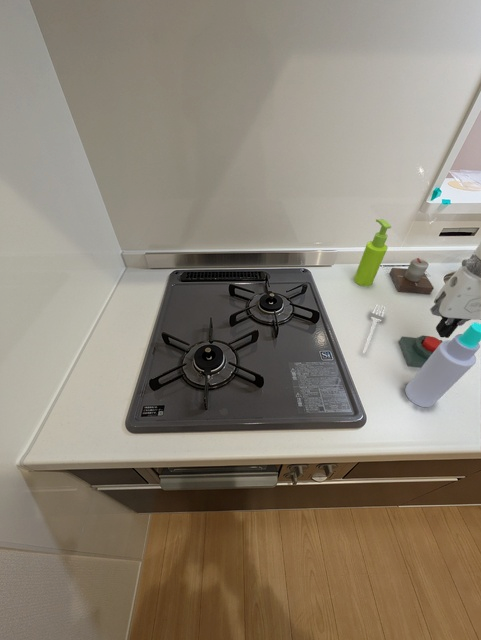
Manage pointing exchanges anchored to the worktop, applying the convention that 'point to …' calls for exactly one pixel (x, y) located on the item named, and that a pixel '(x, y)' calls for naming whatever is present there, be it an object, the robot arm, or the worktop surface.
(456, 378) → the spray bottle
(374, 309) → the fork
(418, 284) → the brown flat block
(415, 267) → the dial
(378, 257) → the soap dispenser
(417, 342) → the button housing
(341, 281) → the worktop surface
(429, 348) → the button
